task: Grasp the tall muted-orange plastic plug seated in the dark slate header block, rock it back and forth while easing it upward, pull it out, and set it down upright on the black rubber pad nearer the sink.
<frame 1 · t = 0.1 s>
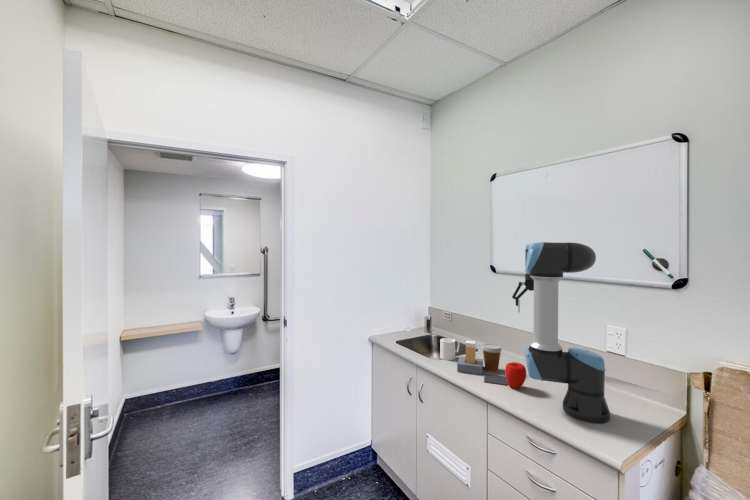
hand: (532, 312, 174), 28 cm above the counter, fingers open, 13 cm apart
apple: (515, 387, 146), on the counter
pad: (495, 379, 154), on the counter
cup: (450, 357, 186), on the counter
disposable coffee cup: (491, 369, 167), on the counter
plug: (470, 355, 168), in the header
header: (470, 369, 168), on the counter
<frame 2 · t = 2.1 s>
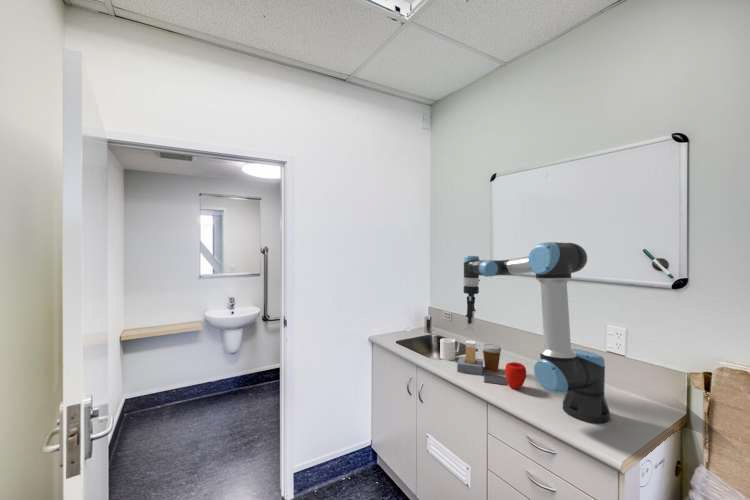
hand: (470, 326, 168), 22 cm above the counter, fingers open, 13 cm apart
nothing on the counter moved.
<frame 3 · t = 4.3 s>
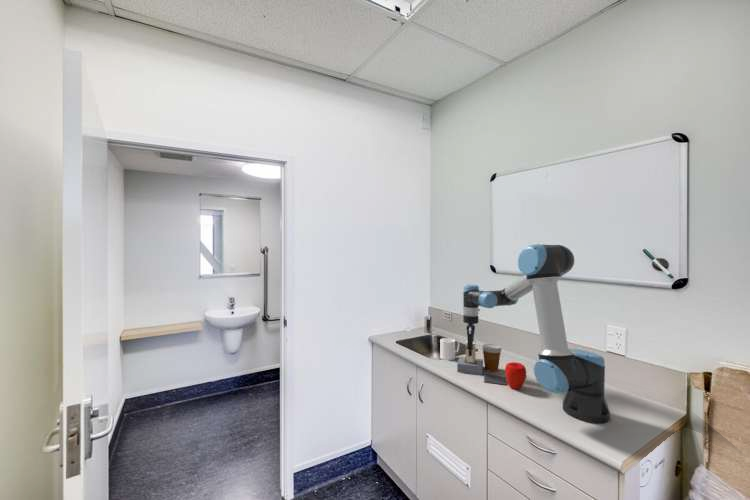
hand: (470, 360, 168), 5 cm above the counter, fingers closed on plug, 5 cm apart
plug: (470, 355, 168), in the header, touching gripper
everything else where it was.
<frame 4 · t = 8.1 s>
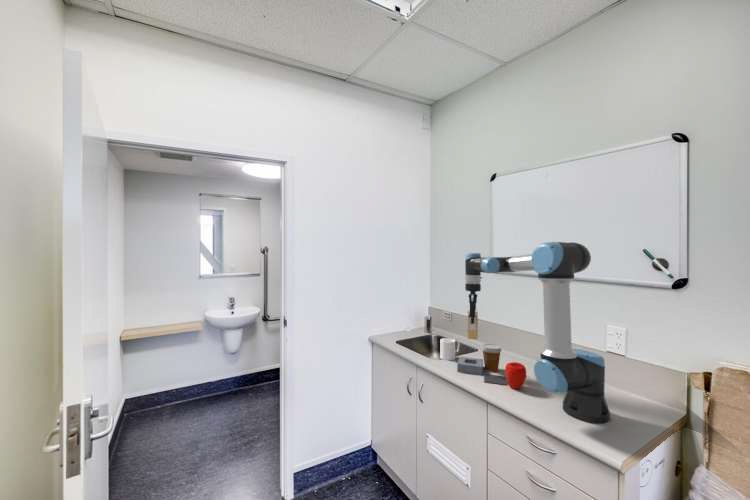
hand: (472, 328, 166), 21 cm above the counter, fingers closed on plug, 5 cm apart
plug: (472, 324, 166), point 24 cm above the counter, touching gripper
everything else where it was.
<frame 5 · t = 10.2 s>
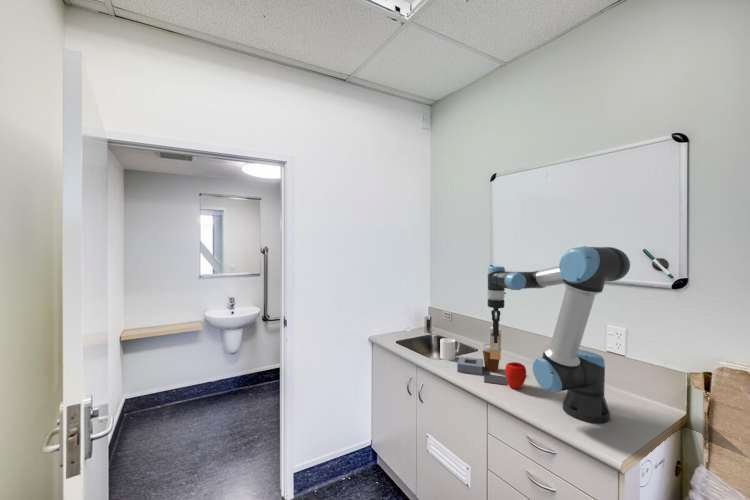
hand: (495, 347, 154), 15 cm above the counter, fingers closed on plug, 5 cm apart
plug: (495, 342, 154), point 18 cm above the counter, touching gripper
everything else where it was.
when the fingers open (6 cm above the counter, at t = 12.0 s): plug drops 1 cm, resting on pad.
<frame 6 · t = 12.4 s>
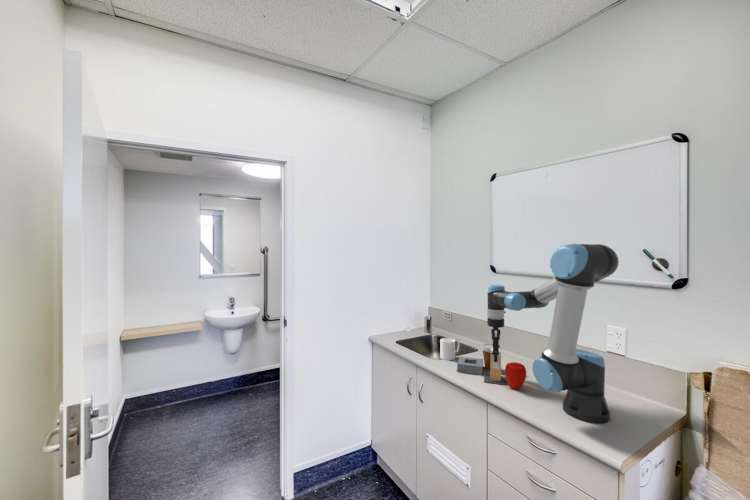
hand: (495, 364, 154), 7 cm above the counter, fingers open, 10 cm apart
plug: (495, 364, 154), on the pad
everything else where it was.
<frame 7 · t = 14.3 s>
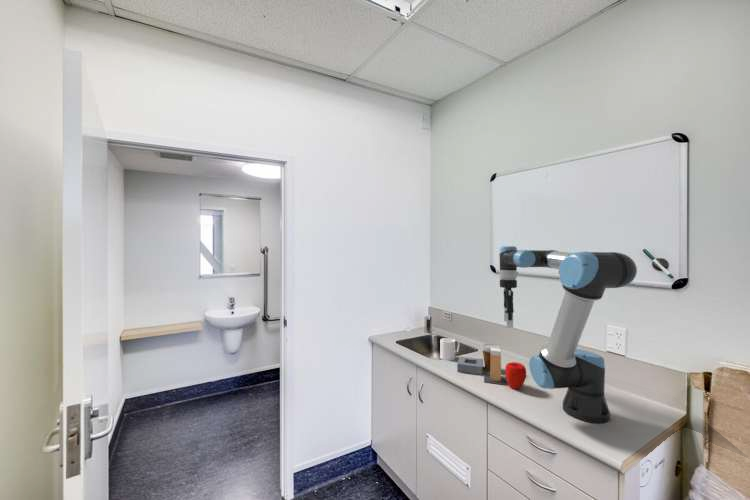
hand: (508, 324, 153), 27 cm above the counter, fingers open, 13 cm apart
nothing on the counter moved.
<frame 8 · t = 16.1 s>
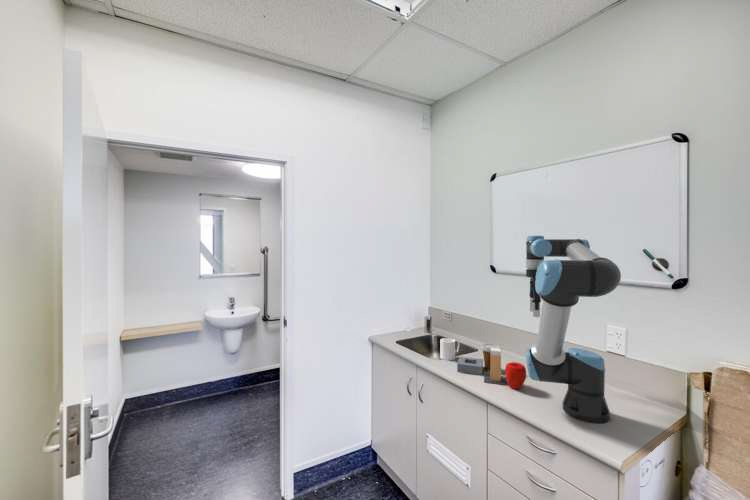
hand: (534, 314, 152), 32 cm above the counter, fingers open, 13 cm apart
nothing on the counter moved.
at the end: plug inside the target area on the pad (0.1 cm from its centre), point 7.4 cm above the pad's base; plug tilted 0°; the gripper is holding nothing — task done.
